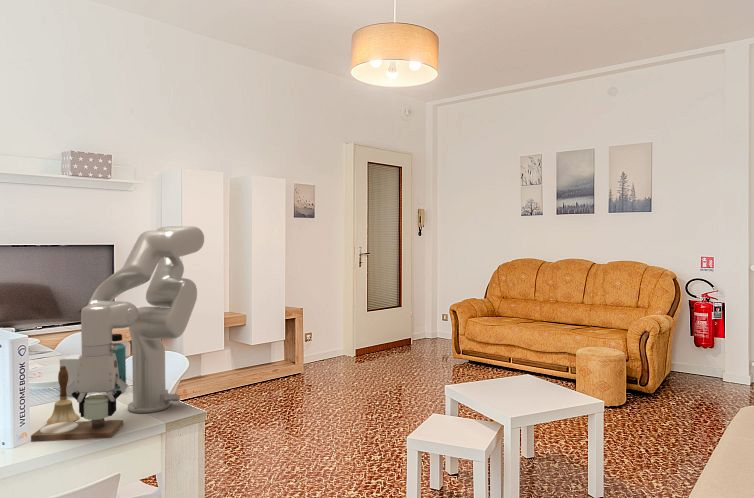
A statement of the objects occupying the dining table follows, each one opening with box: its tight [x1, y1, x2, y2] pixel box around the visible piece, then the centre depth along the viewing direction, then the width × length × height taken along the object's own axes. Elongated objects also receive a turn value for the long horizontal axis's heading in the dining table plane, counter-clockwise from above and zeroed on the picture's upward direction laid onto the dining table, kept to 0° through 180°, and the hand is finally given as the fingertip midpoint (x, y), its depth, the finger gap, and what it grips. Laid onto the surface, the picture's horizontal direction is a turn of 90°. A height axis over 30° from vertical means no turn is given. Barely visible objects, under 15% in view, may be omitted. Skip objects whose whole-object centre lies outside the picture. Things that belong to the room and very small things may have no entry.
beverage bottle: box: [112, 333, 127, 391], centre depth 192 cm, size 6×7×20 cm
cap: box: [83, 393, 110, 421], centre depth 153 cm, size 6×6×6 cm
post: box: [90, 418, 105, 429], centre depth 153 cm, size 3×3×7 cm
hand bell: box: [46, 366, 80, 424], centre depth 163 cm, size 8×8×16 cm
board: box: [30, 419, 124, 442], centre depth 153 cm, size 20×10×2 cm, turn 97°
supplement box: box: [59, 354, 82, 397], centre depth 190 cm, size 7×7×13 cm
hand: (97, 414), depth 153 cm, fingers closed on cap, 6 cm apart
